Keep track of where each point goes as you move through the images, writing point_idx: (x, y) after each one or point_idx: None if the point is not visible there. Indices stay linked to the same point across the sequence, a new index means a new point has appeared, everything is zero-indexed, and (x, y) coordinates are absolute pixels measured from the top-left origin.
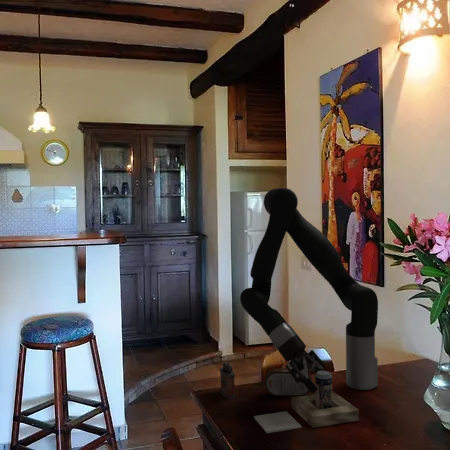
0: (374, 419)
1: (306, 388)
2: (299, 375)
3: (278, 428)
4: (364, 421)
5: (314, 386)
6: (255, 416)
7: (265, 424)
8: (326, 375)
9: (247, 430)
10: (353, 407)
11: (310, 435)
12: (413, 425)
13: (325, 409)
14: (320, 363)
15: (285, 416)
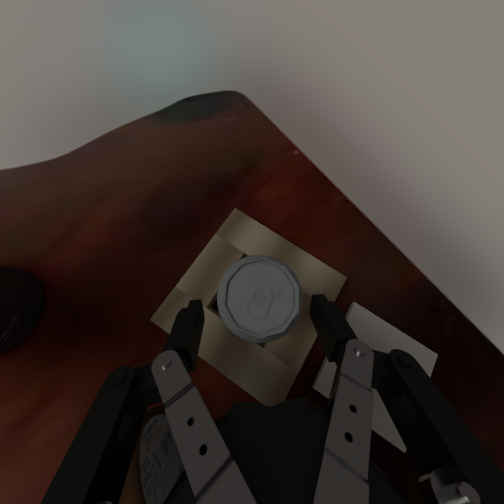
0: (210, 197)
1: (160, 424)
2: (426, 378)
3: (404, 340)
4: (232, 209)
5: (328, 302)
6: (402, 446)
7: None
8: (284, 265)
9: (461, 407)
10: (228, 223)
11: (364, 267)
12: (194, 137)
13: None
14: (127, 399)
15: None
